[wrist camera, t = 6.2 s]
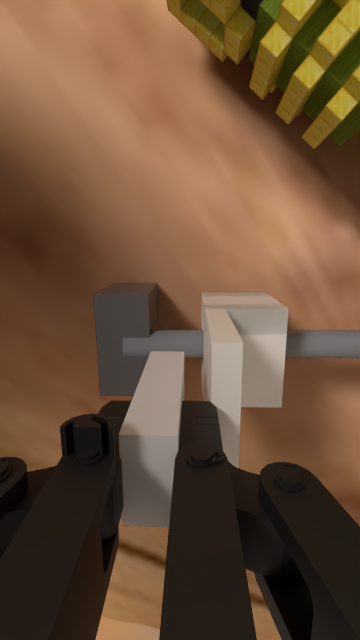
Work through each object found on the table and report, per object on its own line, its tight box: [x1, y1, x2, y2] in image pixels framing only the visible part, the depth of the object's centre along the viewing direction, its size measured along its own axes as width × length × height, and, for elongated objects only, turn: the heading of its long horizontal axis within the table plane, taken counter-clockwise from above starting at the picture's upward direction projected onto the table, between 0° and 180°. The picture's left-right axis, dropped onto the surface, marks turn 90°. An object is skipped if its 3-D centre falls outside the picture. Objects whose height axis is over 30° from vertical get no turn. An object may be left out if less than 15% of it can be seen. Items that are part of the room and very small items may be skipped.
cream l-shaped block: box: [201, 292, 288, 468], centre depth 16 cm, size 4×5×11 cm
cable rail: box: [93, 284, 360, 396], centre depth 20 cm, size 29×6×6 cm, turn 90°
